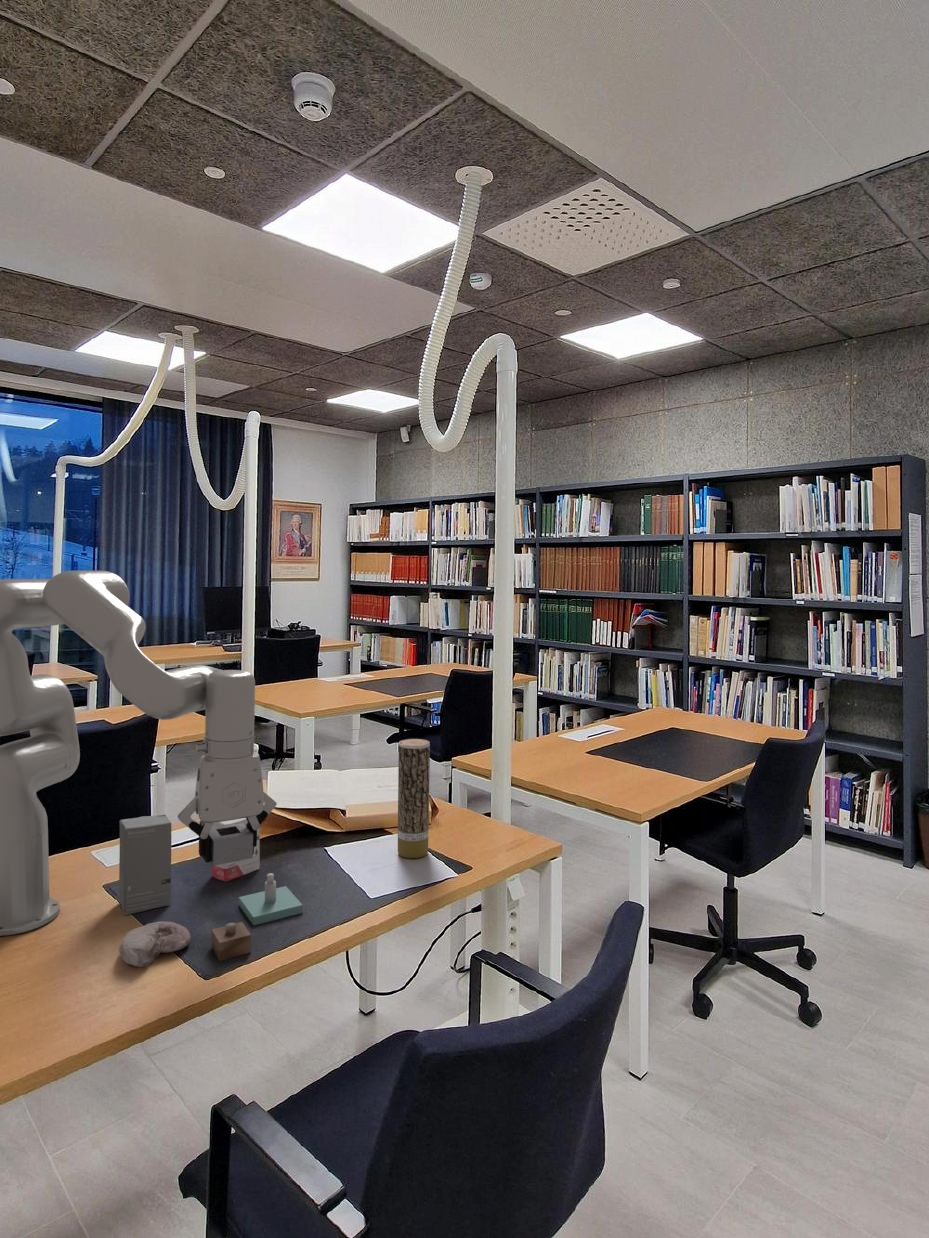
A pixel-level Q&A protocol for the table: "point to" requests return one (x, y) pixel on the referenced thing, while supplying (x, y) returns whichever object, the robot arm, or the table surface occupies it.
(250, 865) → the ink box
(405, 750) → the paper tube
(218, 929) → the stand
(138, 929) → the fossil
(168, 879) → the skincare box
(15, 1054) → the table surface
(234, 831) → the collar
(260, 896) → the green peg base
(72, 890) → the table surface
